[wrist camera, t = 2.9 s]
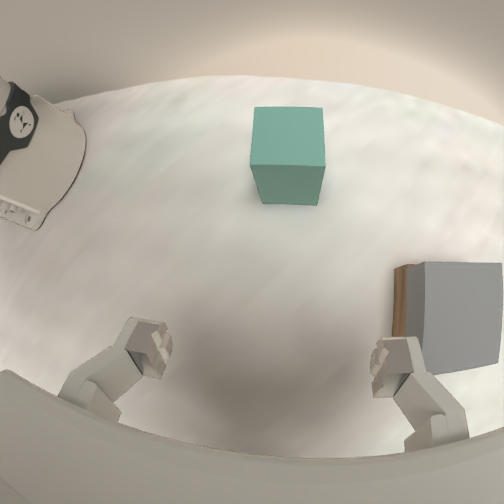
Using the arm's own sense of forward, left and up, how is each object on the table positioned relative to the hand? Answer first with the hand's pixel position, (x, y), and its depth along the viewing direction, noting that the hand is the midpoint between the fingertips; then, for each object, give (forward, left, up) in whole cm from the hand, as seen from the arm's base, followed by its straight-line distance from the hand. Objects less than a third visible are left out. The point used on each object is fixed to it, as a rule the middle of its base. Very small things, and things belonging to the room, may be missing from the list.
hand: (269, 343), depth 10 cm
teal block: (0, +13, -14) cm, 19 cm away
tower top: (+14, +1, -11) cm, 18 cm away
